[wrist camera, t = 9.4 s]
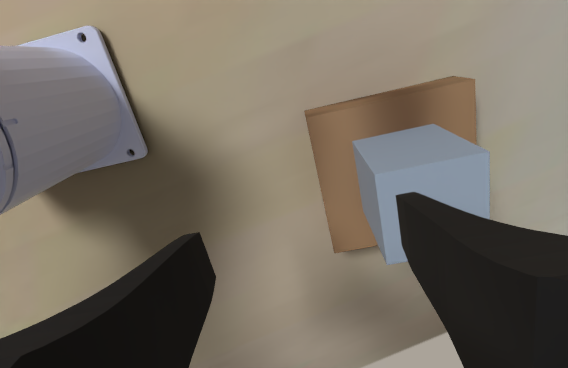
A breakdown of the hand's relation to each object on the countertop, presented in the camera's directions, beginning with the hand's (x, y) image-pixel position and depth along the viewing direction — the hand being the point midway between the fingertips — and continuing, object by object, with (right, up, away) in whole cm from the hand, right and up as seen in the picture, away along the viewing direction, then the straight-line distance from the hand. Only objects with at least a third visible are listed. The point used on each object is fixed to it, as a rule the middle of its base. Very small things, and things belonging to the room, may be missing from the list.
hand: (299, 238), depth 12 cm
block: (+6, +3, +7) cm, 10 cm away
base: (+6, +3, +10) cm, 12 cm away
